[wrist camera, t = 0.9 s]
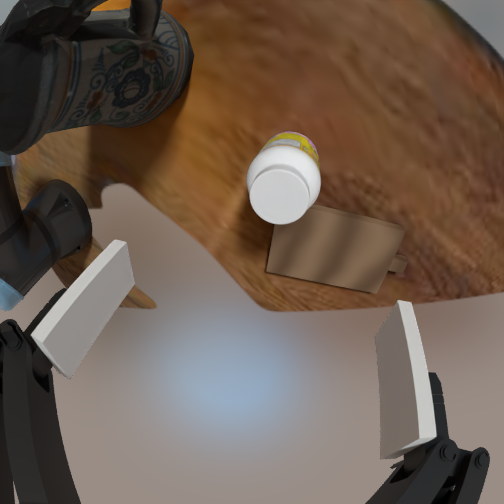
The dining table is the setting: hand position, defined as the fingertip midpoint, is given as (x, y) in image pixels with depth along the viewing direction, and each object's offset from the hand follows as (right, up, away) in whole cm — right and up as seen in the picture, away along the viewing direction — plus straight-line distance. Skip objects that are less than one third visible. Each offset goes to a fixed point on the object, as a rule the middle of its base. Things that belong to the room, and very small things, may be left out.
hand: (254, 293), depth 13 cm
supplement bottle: (+5, +13, +19) cm, 24 cm away
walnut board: (+12, +2, +24) cm, 27 cm away
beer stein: (-14, +27, +14) cm, 33 cm away
